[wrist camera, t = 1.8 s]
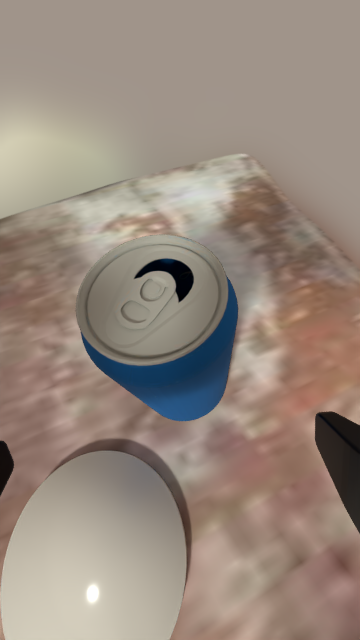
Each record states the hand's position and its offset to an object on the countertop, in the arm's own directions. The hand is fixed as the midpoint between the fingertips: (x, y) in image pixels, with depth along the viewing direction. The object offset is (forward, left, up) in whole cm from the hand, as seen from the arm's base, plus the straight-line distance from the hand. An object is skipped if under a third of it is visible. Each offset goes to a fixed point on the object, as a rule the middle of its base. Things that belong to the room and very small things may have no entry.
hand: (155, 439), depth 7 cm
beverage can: (+4, -3, -12) cm, 13 cm away
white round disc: (-1, +8, -11) cm, 14 cm away
